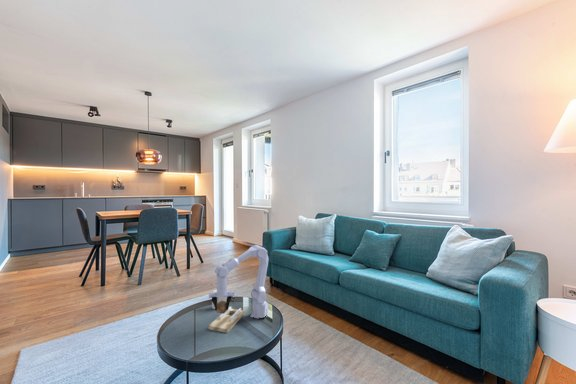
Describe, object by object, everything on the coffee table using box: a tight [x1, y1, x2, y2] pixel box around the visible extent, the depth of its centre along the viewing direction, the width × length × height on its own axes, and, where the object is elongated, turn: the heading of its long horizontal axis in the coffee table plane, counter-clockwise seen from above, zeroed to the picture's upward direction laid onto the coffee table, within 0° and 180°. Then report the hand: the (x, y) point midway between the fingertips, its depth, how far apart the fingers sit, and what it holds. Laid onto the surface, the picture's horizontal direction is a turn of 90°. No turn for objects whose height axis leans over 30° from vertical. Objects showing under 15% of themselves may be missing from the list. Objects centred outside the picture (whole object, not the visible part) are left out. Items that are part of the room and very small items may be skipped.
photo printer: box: [211, 288, 227, 310], centre depth 178 cm, size 10×4×12 cm, turn 109°
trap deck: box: [208, 308, 246, 333], centre depth 160 cm, size 12×22×2 cm, turn 163°
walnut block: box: [216, 301, 227, 314], centre depth 154 cm, size 5×5×5 cm
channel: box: [218, 306, 242, 321], centre depth 164 cm, size 8×13×2 cm, turn 163°
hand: (222, 309), depth 154 cm, fingers closed on walnut block, 6 cm apart
